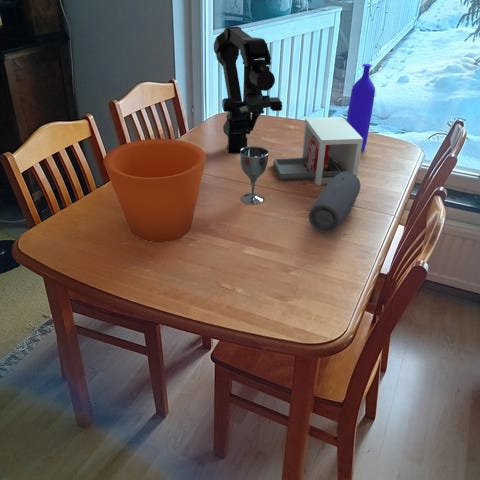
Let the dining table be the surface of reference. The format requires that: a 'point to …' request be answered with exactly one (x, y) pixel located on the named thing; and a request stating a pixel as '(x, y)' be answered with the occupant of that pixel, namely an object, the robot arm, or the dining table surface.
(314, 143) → the soda can
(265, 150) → the wine glass
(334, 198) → the bluetooth speaker
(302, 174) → the tray
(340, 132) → the white side table
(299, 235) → the dining table surface
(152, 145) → the flowerpot
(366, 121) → the bottle
